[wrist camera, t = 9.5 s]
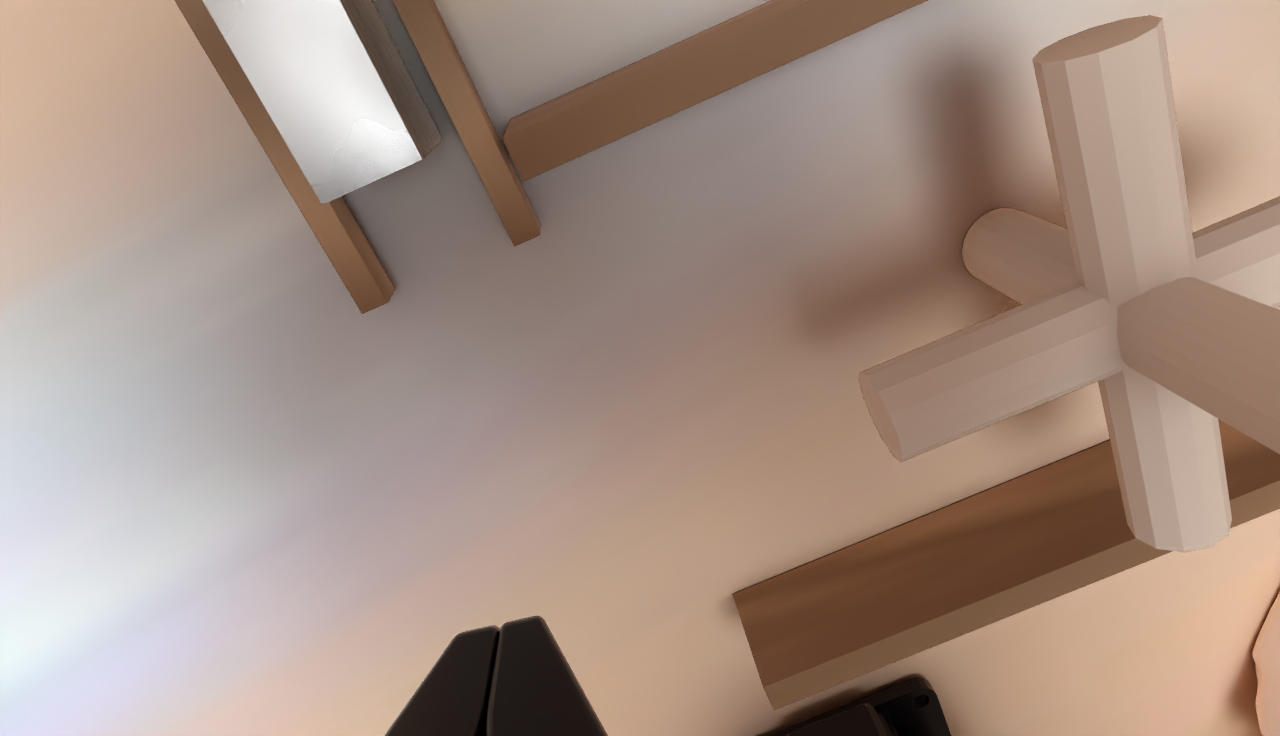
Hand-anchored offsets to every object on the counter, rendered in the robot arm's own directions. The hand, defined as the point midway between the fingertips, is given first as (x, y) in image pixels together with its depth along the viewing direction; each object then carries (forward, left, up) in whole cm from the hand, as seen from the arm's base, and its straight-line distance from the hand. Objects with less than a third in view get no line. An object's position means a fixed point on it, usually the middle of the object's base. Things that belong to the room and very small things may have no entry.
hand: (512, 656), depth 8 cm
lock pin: (+7, +1, -12) cm, 14 cm away
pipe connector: (-3, -11, -12) cm, 16 cm away
